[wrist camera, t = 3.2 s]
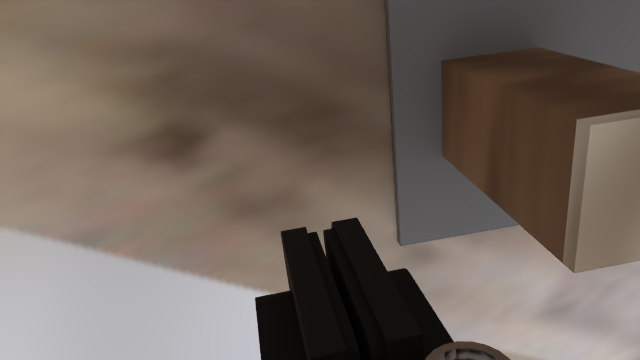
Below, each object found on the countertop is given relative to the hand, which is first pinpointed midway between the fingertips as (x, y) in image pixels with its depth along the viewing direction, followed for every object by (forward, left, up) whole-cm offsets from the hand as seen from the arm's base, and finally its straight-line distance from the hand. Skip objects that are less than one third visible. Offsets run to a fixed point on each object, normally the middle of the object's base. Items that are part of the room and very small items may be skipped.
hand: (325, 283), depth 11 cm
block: (-9, 0, -10) cm, 13 cm away
